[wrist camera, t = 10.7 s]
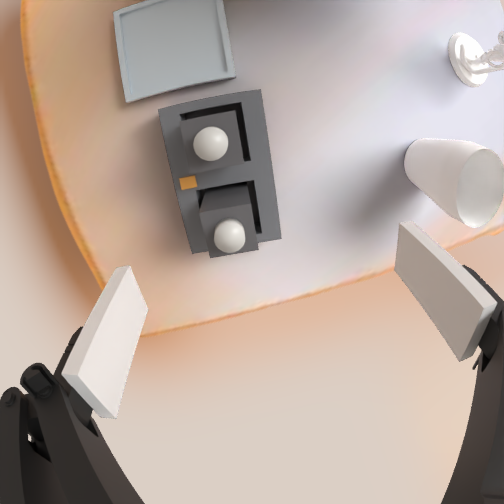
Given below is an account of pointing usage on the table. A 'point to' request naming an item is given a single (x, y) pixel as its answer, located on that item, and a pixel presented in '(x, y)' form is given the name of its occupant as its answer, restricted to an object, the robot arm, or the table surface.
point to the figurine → (474, 58)
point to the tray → (172, 46)
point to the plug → (228, 220)
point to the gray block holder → (221, 158)
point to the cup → (457, 177)
